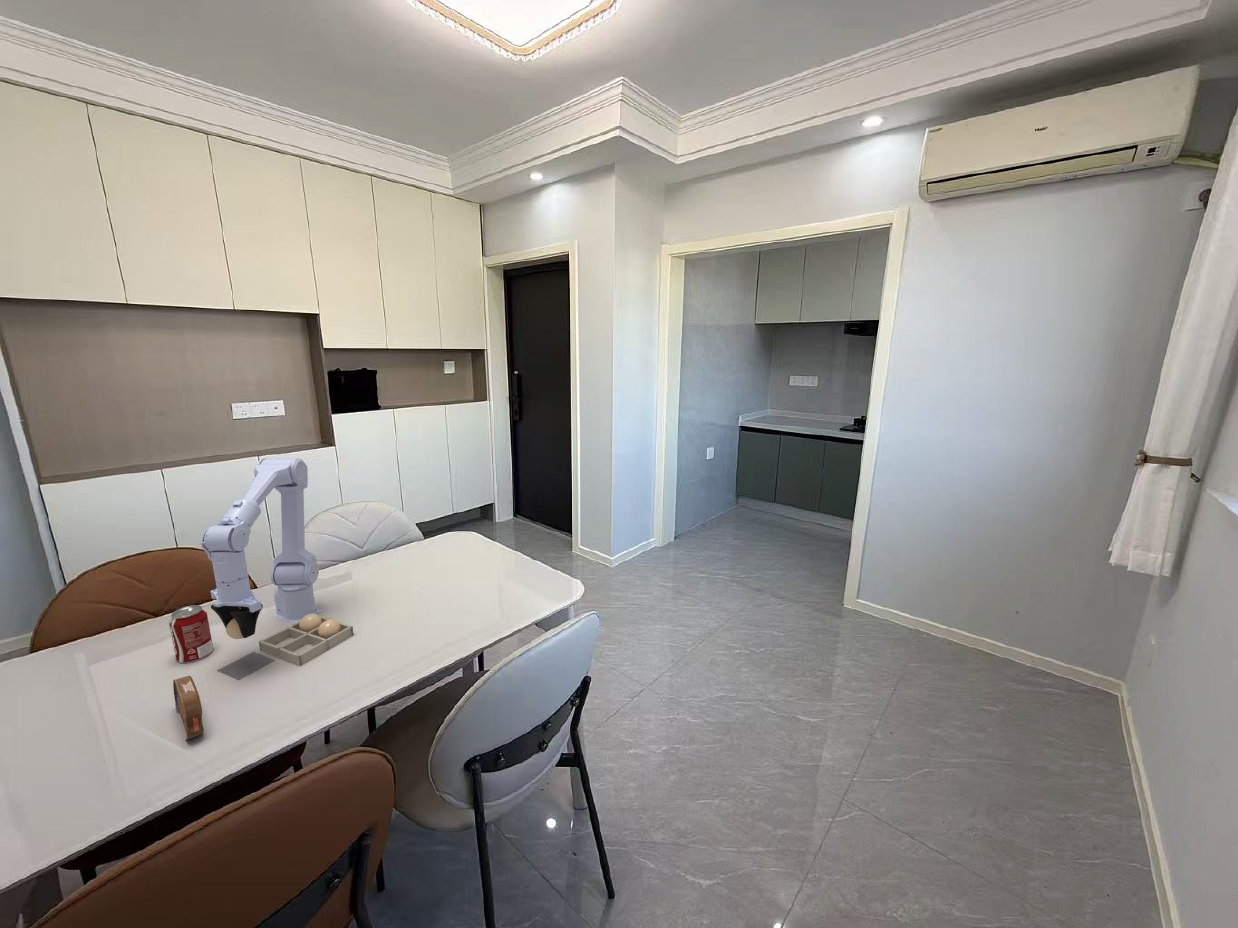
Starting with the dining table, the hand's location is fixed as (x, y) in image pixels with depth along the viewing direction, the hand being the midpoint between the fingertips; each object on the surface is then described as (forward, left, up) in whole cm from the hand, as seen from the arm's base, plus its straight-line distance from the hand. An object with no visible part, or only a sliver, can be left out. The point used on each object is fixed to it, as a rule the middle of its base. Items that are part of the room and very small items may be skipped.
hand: (241, 632), depth 113 cm
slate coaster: (0, 0, -9) cm, 9 cm away
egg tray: (+4, +12, -9) cm, 15 cm away
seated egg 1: (+1, +15, -8) cm, 18 cm away
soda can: (-15, -3, -9) cm, 18 cm away
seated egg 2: (+7, +15, -8) cm, 19 cm away
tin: (+9, -16, -9) cm, 20 cm away
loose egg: (0, 0, -1) cm, 1 cm away
